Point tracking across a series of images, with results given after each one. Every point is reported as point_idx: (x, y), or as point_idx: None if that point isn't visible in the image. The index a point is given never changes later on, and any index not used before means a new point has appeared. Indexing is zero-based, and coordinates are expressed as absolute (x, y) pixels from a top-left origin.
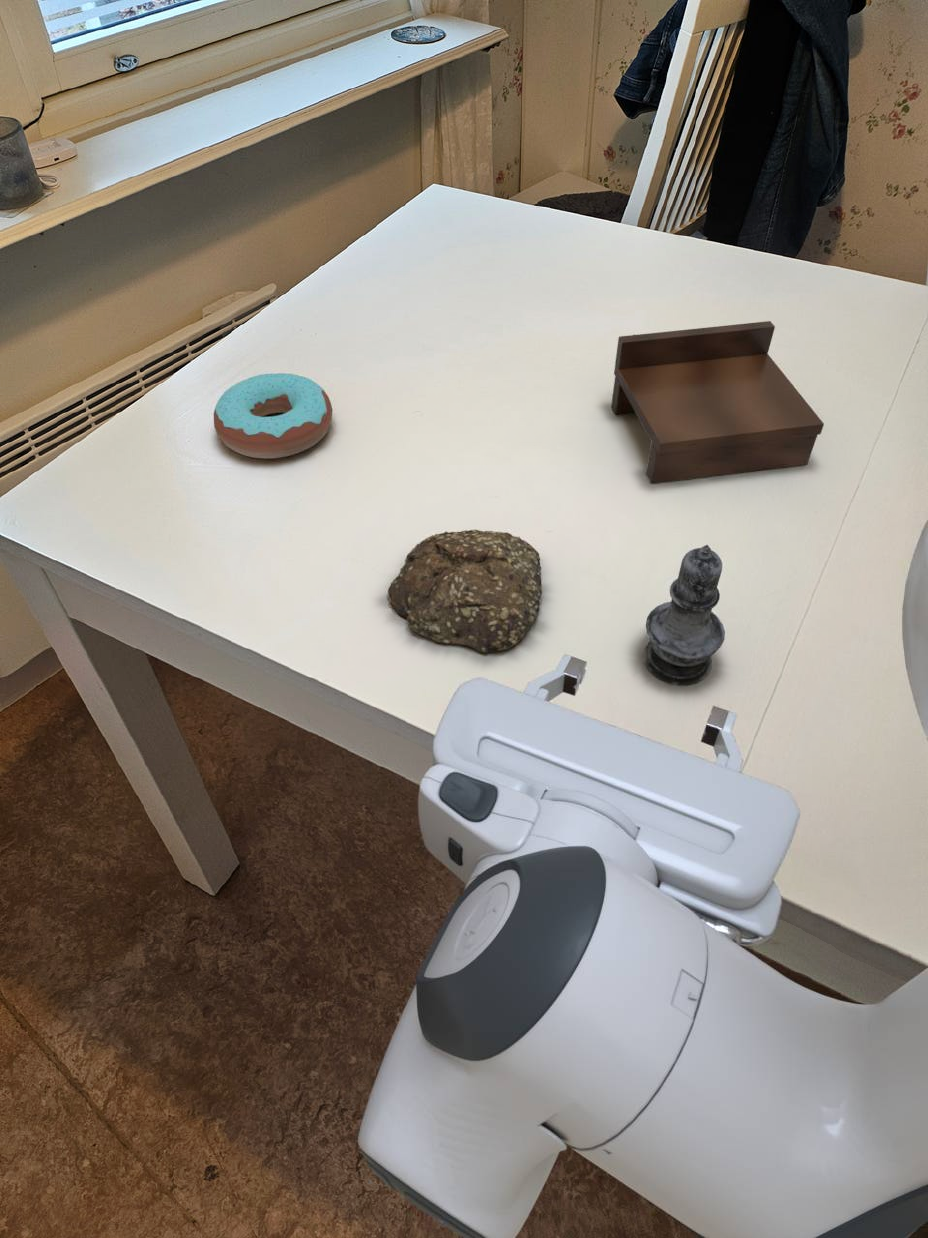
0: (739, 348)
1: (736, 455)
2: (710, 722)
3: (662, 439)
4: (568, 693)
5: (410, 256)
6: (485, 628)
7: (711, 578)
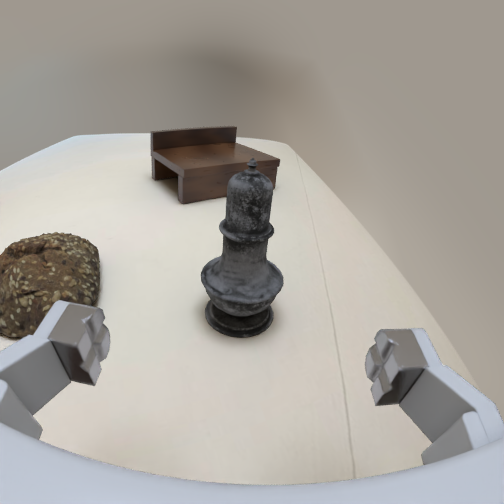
0: (220, 138)
1: None
2: (402, 361)
3: (185, 168)
4: (82, 382)
5: (55, 151)
6: (41, 315)
7: (266, 194)
